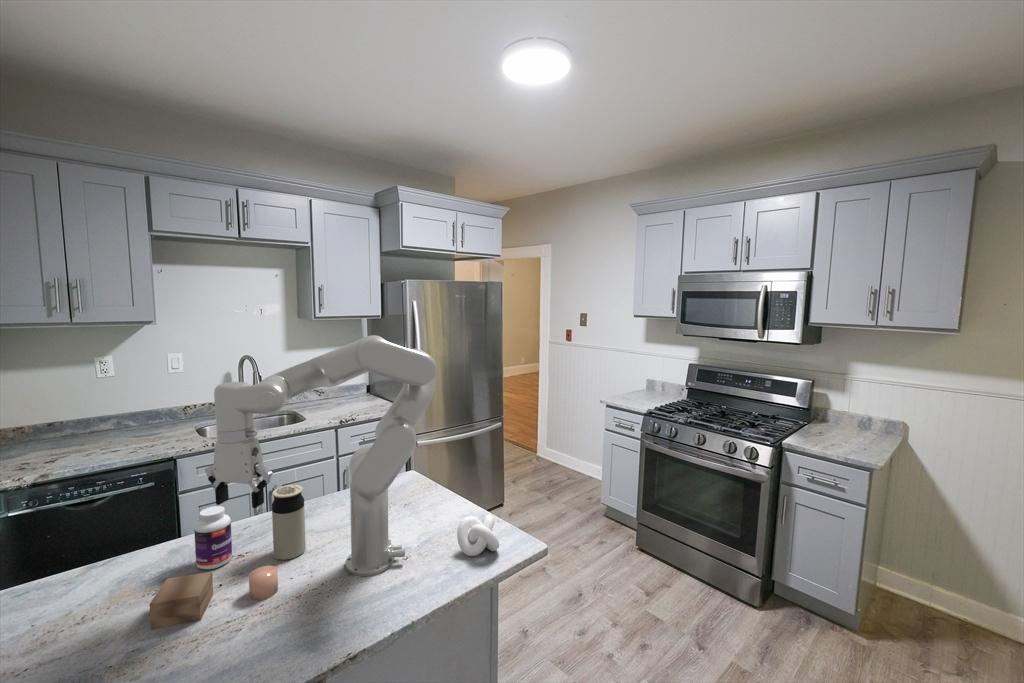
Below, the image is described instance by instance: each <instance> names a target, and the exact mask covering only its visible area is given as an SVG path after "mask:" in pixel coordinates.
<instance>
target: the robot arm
mask: <svg viewBox="0 0 1024 683" xmlns="http://www.w3.org/2000/svg"><path fill="white" fill-rule="evenodd" d="M437 371H438V366H437V363H436V361H435V359H434V358H433V357H432V356H431V355H430V354H428V353H427V352H425V351H424V350H422V349H418V348H407V347H404V346H402V345H398V344H397V343H396V344H395V343H392V342H390V341H388V340H386V339H384V338H383V337H382V336H380V335H375V334H373V335H368V336H365V337H362V338H360V339H357V340H354V341H352V342H350V343H347V344H345V345H342V346H341V347H338V348H335V349H333V350H331V351H328V352H326V353H323V354H320V355H318V356H315V357H313V358H311V359H309V360H307V361H304V362H303V361H302V362H301V363H299V364H295V365H293V366H291V367H288V368H286V369H284V370H281V371H279V372H276V373H274V374H271V375H269V376H266V377H265V378H264V379H262V380H261V381H260V382H259V383H257V384H250V383H248V382H244V381H232V382H231V381H230V382H224V383H221V384H218V385H217V386H216V387H215V388H214V391H213V396H214V397H213V400H214V412H215V427H216V441H215V445H214V450H213V451H214V452H213V464H212V465H210V466H207V467H206V468H204V472H205V474H206V476H207V480H208V481H209V483H210V484H211V487H212V489H214V492H215V493H214V494H215V506H221V504H224V503H225V502H227V501H228V500H229V485H228V483H229V484H241V485H242V484H243V485H249V487H250V488H251V489H252V490H253V491H252V492H251V493H250V494H251V508H252V509H257V508H258V507H260V506H261V505H263V504H264V503H265V492H264V491H265V490H264V489H265V488H266V487H267V485H268V484H269V483H270V481H271V478H272V476H273V472H272V471H271V470H270V469H269V468H266V467H264V460H263V459H264V458H263V454H262V452H263V451H262V449H261V444H260V442H259V439H258V437H257V436H258V431H257V430H255V426H254V414H255V415H256V414H257V415H271V414H276V413H277V412H279V411H281V410H282V409H283V407H284V406H285V404H286V402H287V400H290V399H292V398H294V397H297V396H300V395H301V394H304V393H306V392H309V391H313V390H317V389H320V388H332V387H333V388H334V387H336V386H340V385H341V384H343V383H345V382H348V381H351V380H352V379H355V378H357V377H359V376H361V375H363V374H366V373H368V372H369V373H372V374H375V375H377V376H379V377H383V378H386V379H389V380H393V381H397V382H399V383H402V387H401V389H400V391H399V393H398V395H397V397H396V398H395V400H394V401H393V402H392V404H391V405H390V407H389V408H388V409H387V411H386V412H385V414H384V415H383V416H382V417H381V418H380V420H379V421H378V423H377V424H376V426H375V430H374V433H375V434H374V436H375V440H374V442H373V443H372V444H371V445H363V446H362V447H360V448H358V449H357V450H355V452H354V453H353V454H352V456H351V458H350V460H349V465H348V468H349V469H348V473H349V475H348V476H349V492H350V493H349V496H350V497H349V498H350V503H349V504H350V546H351V547H350V550H351V551H350V552H351V553H350V554H349V555H348V556H347V557H346V560H345V569H346V571H347V572H348V573H349V574H351V575H354V576H359V577H368V576H375V575H377V574H380V573H383V572H386V570H388V569H390V567H391V566H392V565H393V564H394V562H395V558H404V557H405V556H406V549H405V548H403V546H402V544H401V545H398V544H397V545H393V544H392V540H391V539H389V490H388V489H389V487H390V486H391V485H392V484H393V482H394V481H395V479H396V478H397V477H398V476H399V473H401V471H402V469H403V468H404V467H405V465H406V464H407V462H408V461H409V459H410V458H411V456H412V455H413V453H414V451H415V447H416V444H417V433H416V431H415V429H416V427H417V425H418V424H419V422H420V421H421V419H422V418H423V415H424V414H425V413H426V411H427V409H428V408H429V406H430V405H431V402H432V399H433V396H434V393H435V383H436V382H435V380H436V379H435V378H436V376H437V373H438V372H437ZM256 437H257V438H256Z"/></svg>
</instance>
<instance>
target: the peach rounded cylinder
mask: <svg viewBox="0 0 1024 683" xmlns="http://www.w3.org/2000/svg"><path fill="white" fill-rule="evenodd" d="M278 579H279V578H278V568H277V567H276V566H275V565H264V566H260V567H259V566H258V567H257V568H255V569H254V570H252V571H251V572H250V573H249V575H248V591H249V593H248V595H249V599H250V600H252V601H256V602H260V601H265V600H267V599H270V598H272V597H273V596H275V595H276V594H277V593H278V590H279V583H278Z"/></svg>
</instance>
